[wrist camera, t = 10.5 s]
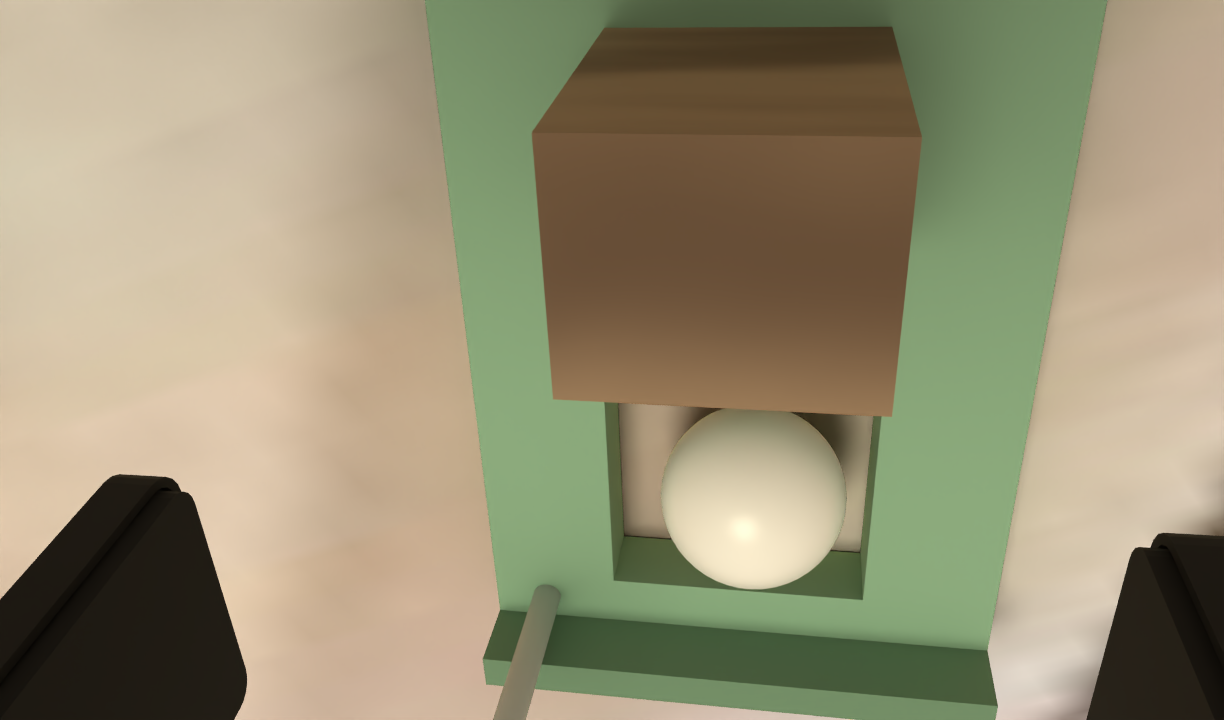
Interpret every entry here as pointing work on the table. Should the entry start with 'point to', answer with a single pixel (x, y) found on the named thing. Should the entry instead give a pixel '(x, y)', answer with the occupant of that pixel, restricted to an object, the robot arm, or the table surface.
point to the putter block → (729, 218)
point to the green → (900, 445)
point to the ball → (753, 497)
